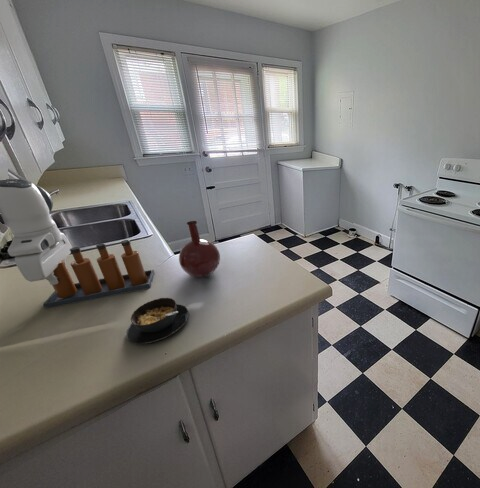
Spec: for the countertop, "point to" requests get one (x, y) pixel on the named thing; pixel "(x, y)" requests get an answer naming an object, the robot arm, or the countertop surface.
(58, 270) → the loose bottle
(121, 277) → the bottle
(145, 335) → the soup bowl
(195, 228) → the round-bottom flask
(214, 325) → the countertop surface
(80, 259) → the bottle
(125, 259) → the bottle
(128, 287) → the tray
